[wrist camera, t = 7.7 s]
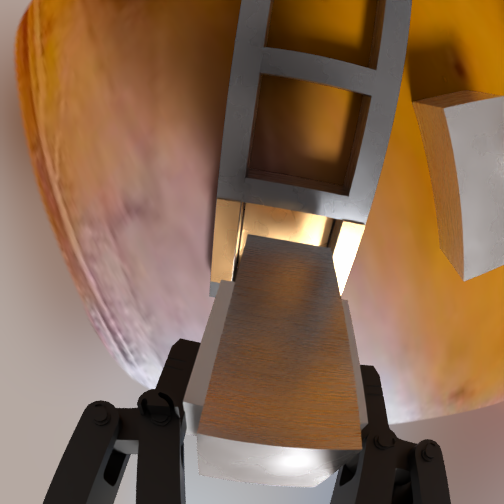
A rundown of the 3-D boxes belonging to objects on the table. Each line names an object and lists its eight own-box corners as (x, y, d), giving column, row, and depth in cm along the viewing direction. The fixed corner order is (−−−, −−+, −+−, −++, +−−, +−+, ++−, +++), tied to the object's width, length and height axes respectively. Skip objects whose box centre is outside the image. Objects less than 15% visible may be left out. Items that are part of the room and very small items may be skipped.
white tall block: (247, 233, 16) (196, 433, 7) (330, 248, 16) (362, 449, 7) (238, 298, 18) (198, 474, 9) (310, 310, 18) (314, 487, 9)
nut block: (410, 101, 15) (443, 108, 11) (464, 89, 14) (503, 96, 10) (439, 246, 20) (463, 281, 16) (483, 230, 18) (512, 260, 15)
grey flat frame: (257, -51, 11) (253, -66, 9) (402, -20, 10) (414, -30, 9) (215, 280, 23) (208, 297, 21) (329, 299, 23) (332, 318, 21)
